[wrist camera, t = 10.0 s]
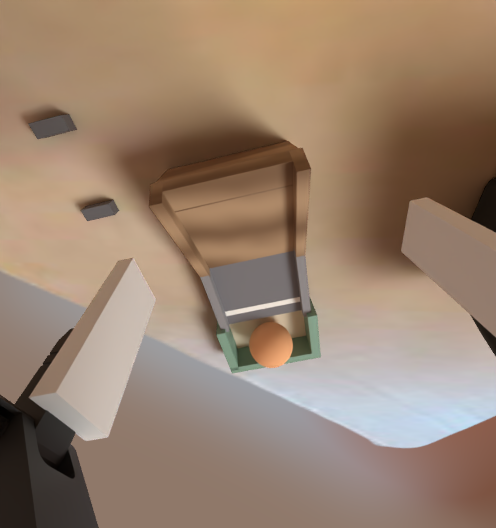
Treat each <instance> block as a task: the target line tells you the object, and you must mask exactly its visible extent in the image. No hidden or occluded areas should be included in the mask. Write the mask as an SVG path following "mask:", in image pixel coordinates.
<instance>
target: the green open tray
mask: <svg viewBox="0 0 496 528" xmlns="http://www.w3.org/2000/svg"><path fill="white" fill-rule="evenodd" d="M309 298H310V297H309ZM310 307H311V312H310V313H306V314H307V317H304V316H303V313H302V310H300V311H295V312H290V313H285V314H279V315H274V316H269V317H264V318H259V319H254V320H249V321H244V322H239V323H233V324H229V332H226V329H223V330H221V329H220V326H219V324H218V321H217V332H216V335H217V338H218V340H219V343H220V345H221V347H222V350H223V352H224V355H225V357H226V359H227V362H228V364H229V367H230V369H231V372H232V373H237V372H243V371H248V370H253V369H259V368H264V366H262V365H260V364H259V363H258V362H256V361H255V359H254V358H253V356H252V355H251V352H250V348H249V341H250V337H251V334H252V332H253V331H254V330H255V328H257V327H258V326H259V325H261V324H263V323H267V322H274V323H278V324H280V325H282V326H283V327H285V328H286V329H287V331H288V332H289V333H290V335H291V338H292V342H293V349H292V353H291V356H290V358H289V359H288V360H287V361H286V362H285V363H284V364H286V363H292V362H297V361H303V360H308V359H314V358H319V357H321V354H320V343H319V331H318V319H317V314H316V311H315V309H314V306H313V304H312V301H311V299H310Z"/></svg>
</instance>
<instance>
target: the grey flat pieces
mask: <svg viewBox="0 0 496 528" xmlns="http://www.w3.org/2000/svg"><path fill="white" fill-rule="evenodd" d="M29 126H30V128H31V129H32V131H33V133H34V134H35V136H36V138H37V139H41V138H46V137H50V136H54V135H58V134H62V133H66V132H70V131H74V130H77V129H76V127H75V125H74V123H73V121H72V119H71V117H70V115H69V114H68V115H60V116H56V117H52V118H48V119H44V120H41V121H37V122H33V123H29ZM118 211H119V210H118V208H117V206H116V204H115V202H114V200H111V201H106V202H102V203H98V204H94V205H89V206H86V207H85V208H83V209H82V210H81V212H82V213H83V215H84V217H85V218H86V220H87V221H90V220H95V219H99V218H103V217H108V216H112V215H115V214H116V213H117V212H118Z"/></svg>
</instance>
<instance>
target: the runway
mask: <svg viewBox="0 0 496 528" xmlns="http://www.w3.org/2000/svg"><path fill="white" fill-rule="evenodd" d="M200 278H201V280H202V283H203V285H204V288H205V290H206V293H207V296H208V298H209V301H210V303H211V306H212V308H213V311H214V313H215V316H216V318H217V321H218V324H219V326H220V329H221V330H223V329H226V332H229V324H233V323H239V322H244V321H249V320H254V319H259V318H264V317H269V316H274V315H279V314H285V313H290V312H295V311H300V310H302V313H303V316H304V317H307V314H306V313H310V312H311V307H310V298H309V288H308V278H307V268H306V259H305V256H300V257H296V252H295V250H294V251H290V252H285V253H281V254H276V255H271V256H266V257H262V258H257V259H252V260H248V261H243V262H238V263H233V264H229V265H224V266H219V267H214V268H210V276H204V277H200Z"/></svg>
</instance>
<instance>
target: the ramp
mask: <svg viewBox="0 0 496 528" xmlns="http://www.w3.org/2000/svg"><path fill="white" fill-rule="evenodd" d="M310 175H311V168H310V165H309V163H308V161H307V158H306V156H305V153H304V151H303V148H297V147H296V146H294V145H293V144H291V143H290V142H289V141H285V142H281V143H277V144H273V145H269V146H264V147H260V148H256V149H252V150H248V151H244V152H239V153H235V154H231V155H227V156H223V157H219V158H214V159H210V160H206V161H202V162H198V163H194V164H189V165H185V166H181V167H177V168H173V169H169V170H167V171H166V172H165V173H164V174H163V175H162V176H161V177H160V179H159V180H158V181H157V182H156V183H152V184H151V185H150V199H149V207H150V208H151V210H152V211H153V213H154V214H155V215H156V217H157V218H158V219H159V221H160V222H161V224H162V225H163V226H164V228H165V229H166V231H167V232H168V233H169V235H170V236H171V237H172V239H173V240H174V242H175V243H176V244H177V246H178V247H179V248H180V250H181V251H182V253H183V254H184V255H185V257H186V258H187V260H188V261H189V262H190V264H191V265H192V266H193V268H194V269H195V271H196V272H197V273H198V275H199V276H200V277H204V276H210V268H214V267H219V266H224V265H229V264H233V263H238V262H243V261H248V260H252V259H257V258H262V257H266V256H271V255H276V254H281V253H285V252H290V251H294V250H295V252H296V257H300V256H305V250H306V235H307V220H308V205H309V190H310Z"/></svg>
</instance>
